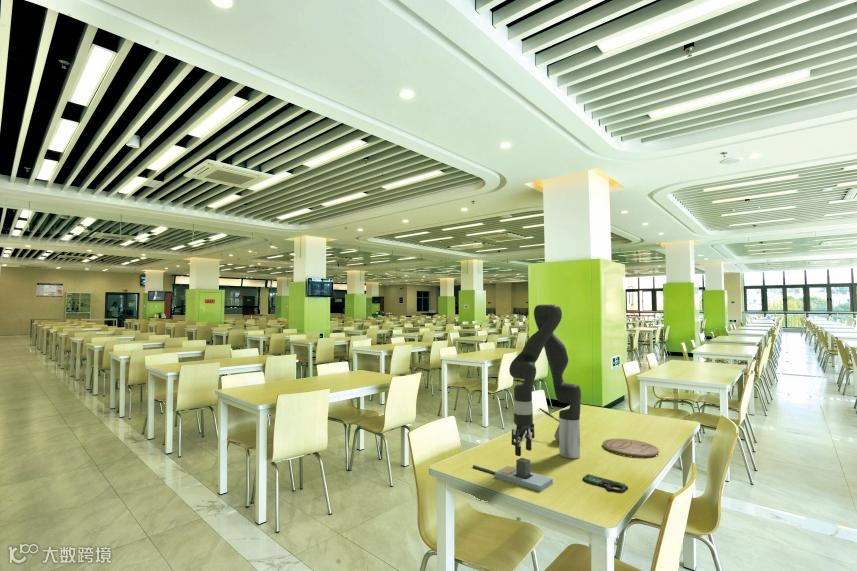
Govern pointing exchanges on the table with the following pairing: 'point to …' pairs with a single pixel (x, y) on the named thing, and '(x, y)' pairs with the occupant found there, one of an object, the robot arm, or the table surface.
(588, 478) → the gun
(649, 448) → the trivet
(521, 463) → the block
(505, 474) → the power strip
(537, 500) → the table surface
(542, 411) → the coffee pot
